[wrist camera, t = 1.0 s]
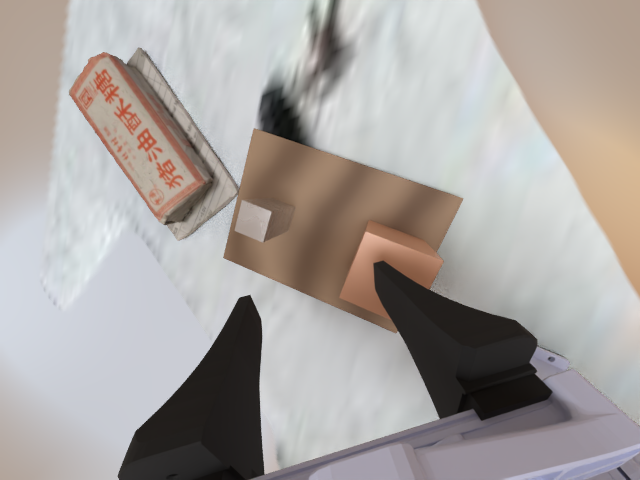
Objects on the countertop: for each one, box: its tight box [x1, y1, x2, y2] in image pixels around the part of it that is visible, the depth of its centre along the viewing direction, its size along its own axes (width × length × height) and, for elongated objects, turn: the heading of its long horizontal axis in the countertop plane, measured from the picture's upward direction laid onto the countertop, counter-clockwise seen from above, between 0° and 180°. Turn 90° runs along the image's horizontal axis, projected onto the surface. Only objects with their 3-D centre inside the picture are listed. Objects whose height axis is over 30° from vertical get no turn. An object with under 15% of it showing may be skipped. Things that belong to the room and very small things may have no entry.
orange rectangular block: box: [339, 220, 444, 320], centre depth 19 cm, size 5×5×7 cm
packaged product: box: [69, 48, 239, 241], centre depth 25 cm, size 18×5×10 cm
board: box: [223, 129, 463, 333], centre depth 24 cm, size 20×14×1 cm
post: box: [235, 198, 296, 242], centre depth 21 cm, size 3×3×6 cm
